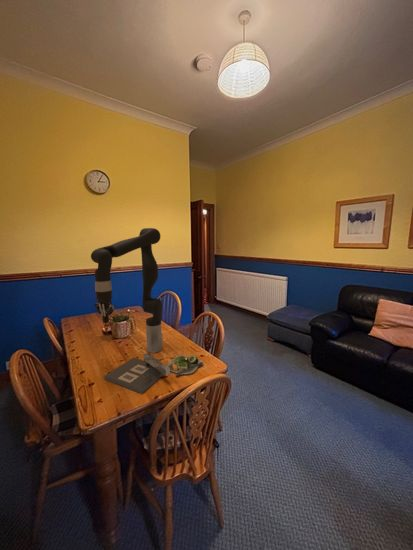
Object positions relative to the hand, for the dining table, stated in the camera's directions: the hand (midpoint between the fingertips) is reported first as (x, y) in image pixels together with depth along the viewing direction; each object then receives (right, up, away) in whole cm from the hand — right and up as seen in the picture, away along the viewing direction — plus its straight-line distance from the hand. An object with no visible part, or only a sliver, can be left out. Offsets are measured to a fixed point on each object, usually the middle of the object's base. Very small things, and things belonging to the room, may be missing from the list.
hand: (105, 322), depth 117 cm
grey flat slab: (+16, -27, +1) cm, 32 cm away
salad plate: (+40, -27, +10) cm, 49 cm away
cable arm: (+26, -23, +1) cm, 34 cm away
